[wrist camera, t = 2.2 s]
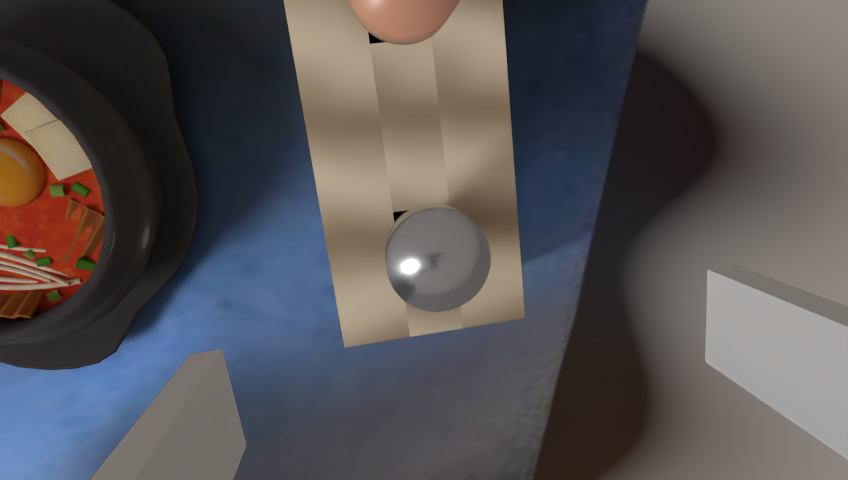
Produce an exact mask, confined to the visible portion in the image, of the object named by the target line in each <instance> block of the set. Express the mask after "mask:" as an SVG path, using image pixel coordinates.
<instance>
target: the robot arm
mask: <svg viewBox="0 0 848 480" xmlns="http://www.w3.org/2000/svg"><path fill="white" fill-rule="evenodd" d="M707 272H708V273H707V310H706V350H705V362H706V363H708V364H709V365H710V366H712V367H713V368H715V369H716V370H718V371H719V372H721V373H722V374H724V375H725V376H727V377H728V378H730V379H731V380H732V381H734V382H735V383H737V384H738V385H740V386H741V387H743V388H744V389H745V390H747V391H748V392H750V393H751V394H753V395H754V396H756V397H757V398H759V399H760V400H761V401H763V402H764V403H766V404H767V405H769V406H770V407H772V408H773V409H775V410H776V411H778V412H779V413H780V414H782V415H783V416H785V417H786V418H788V419H789V420H791V421H792V422H793V423H795V424H796V425H798V426H799V427H801V428H802V429H804V430H805V431H807V432H808V433H810V434H811V435H812V436H814V437H815V438H817V439H818V440H820V441H821V442H823V443H824V444H826V445H827V446H828V447H830V448H831V449H833V450H834V451H836V452H837V453H839V454H840V455H842V456H843V457H844V458H846V459H847V460H848V307H847V306H844V305H841V304H839V303H836V302H833V301H830V300H828V299H825V298H822V297H819V296H817V295H814V294H811V293H809V292H806V291H803V290H801V289H798V288H795V287H792V286H790V285H787V284H784V283H781V282H779V281H776V280H773V279H770V278H768V277H765V276H763V275H760V274H757V273H754V272H752V271H749V270H746V269H743V268H741V267H738V266H735V265H732V266H725V267H719V268H714V269H708V271H707ZM245 448H246V441H245V437H244V433H243V429H242V425H241V421H240V418H239V414H238V410H237V406H236V402H235V398H234V394H233V390H232V386H231V382H230V378H229V374H228V370H227V366H226V362H225V358H224V355H223V351H222V349H220V350H214V351H208V352H202V353H196V354H190V355H189V356H188V358H187V359H186V360H185V361H184V363H183V364H182V365H181V366H180V368H179V369H178V370H177V371H176V373H175V374H174V375H173V376H172V378H171V379H170V380H169V381H168V383H167V384H166V385H165V386H164V388H163V389H162V390H161V391H160V393H159V394H158V395H157V396H156V398H155V399H154V400H153V401H152V403H151V404H150V405H149V406H148V408H147V409H146V410H145V411H144V413H143V414H142V415H141V416H140V418H139V419H138V420H137V421H136V423H135V424H134V425H133V426H132V428H131V429H130V430H129V432H128V433H127V434H126V435H125V437H124V438H123V439H122V440H121V442H120V443H119V444H118V445H117V447H116V448H115V449H114V450H113V452H112V453H111V454H110V455H109V457H108V458H107V459H106V460H105V462H104V463H103V464H102V465H101V467H100V468H99V469H98V470H97V472H96V473H95V474H94V475H93V477H92V478H91V479H90V480H233V479H234V476H235V474H236V471H237V469H238V466H239V463H240V461H241V458H242V456H243V453H244V451H245Z"/></svg>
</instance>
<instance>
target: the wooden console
mask: <svg viewBox="0 0 848 480" xmlns="http://www.w3.org/2000/svg"><path fill="white" fill-rule="evenodd" d="M284 5H285V11H286V17H287V22H288V28H289V34H290V40H291V45H292V51H293V57H294V62H295V68H296V74H297V80H298V85H299V91H300V97H301V102H302V108H303V114H304V120H305V125H306V131H307V137H308V142H309V148H310V154H311V159H312V165H313V171H314V177H315V182H316V188H317V194H318V199H319V205H320V211H321V217H322V222H323V228H324V234H325V239H326V245H327V251H328V256H329V262H330V268H331V274H332V279H333V285H334V291H335V296H336V302H337V308H338V314H339V319H340V325H341V331H342V336H343V342H344V348H346V347H352V346H358V345H364V344H370V343H376V342H382V341H388V340H395V339H401V338H407V337H413V336H419V335H425V334H431V333H437V332H444V331H450V330H456V329H462V328H468V327H474V326H480V325H487V324H493V323H499V322H505V321H511V320H517V319H523V318H525V309H524V295H523V281H522V267H521V253H520V239H519V225H518V211H517V197H516V183H515V169H514V155H513V141H512V127H511V113H510V99H509V85H508V71H507V57H506V43H505V29H504V15H503V1H502V0H459V2H458V4H457V6H456V8H455V9H454V11H453V13H452V14H451V15H450V17H449V18H448V20H447V21H446V22H445V24H444V25H443V26H442V27H441V29H440V30H439V31H437V32H436V33H435V34H434V35H433V36H431V37H430V38H428V39H426V40H424V41H422V42H419V43H416V44H410V45H397V44H391V43H387V42H383V43H374V44H370V42H369V35H368V31H367V30H366V29H365V28H364V27H363V26H362V25H361V24H360V22H359V21H358V20H357V18H356V17H355V15H354V13H353V11H352V9H351V7H350V4H349V1H348V0H284ZM429 203H440V204H445V205H449V206H452V207H454V208H456V209H458V210H460V211H461V212H463V213H464V214H465V215H466V216H467V217H469V218H470V219H471V220H472V221H473V222H474V223H476V224H477V225H478V226H479V228H480V229H481V230H482V232H483V233H484V235H485V237H486V239H487V241H488V244H489V247H490V253H491V264H490V270H489V274H488V277H487V279H486V281H485V283H484V285H483V287H482V288H481V290H480V291H479V292H478V293H477V294H476V295H475V297H473V298H472V299H471V300H470V301H468V302H467V303H465V304H464V305H462V306H460V307H458V308H455V309H452V310H449V311H443V312H430V311H424V310H421V309H418V308H415V307H413V306H411V305H410V304H408V303H406V302H405V301H404V300H403V299H402V298H401V297H400V296H399V295H398V294H397V293H396V292H395V290H394V289H393V287H392V285H391V283H390V281H389V278H388V274H387V269H386V262H385V253H384V252H385V243H386V238H387V236H388V233H389V231H390V229H391V227H392V226H393V224H394V217H393V212H398V211H405V210H410V209H412V208H414V207H416V206H419V205H423V204H429Z"/></svg>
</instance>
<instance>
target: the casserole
mask: <svg viewBox="0 0 848 480" xmlns="http://www.w3.org/2000/svg"><path fill="white" fill-rule="evenodd" d="M198 200H199V199H198V191H197V183H196V175H195V170H194V167H193V164H192V161H191V158H190V155H189V152H188V149H187V146H186V143H185V141H184V138H183V135H182V132H181V129H180V126H179V123H178V120H177V118H176V114H175V106H174V99H173V91H172V84H171V78H170V73H169V67H168V62H167V57H166V55H165V53H164V51H163V50H162V48H161V46H160V45H159V43H158V41H157V39H156V38H155V36H154V34H153V33H152V32H151V31H150V30H149V29H148V28H147V27H146V26H145V25H143V24H142V23H141V22H140V21H139V20H138V19H137V18H136V17H135V16H134V15H133V14H131V13H130V12H129V11H127V10H125V9H124V8H122V7H120V6H119V5H117V4H116V3H114V2H112V1H111V0H0V362H2V363H6V364H9V365H13V366H17V367H23V368H34V369H44V370H58V369H75V368H80V367H84V366H88V365H92V364H96V363H99V362H101V361H102V360H104V359H105V358H107V357H109V356H110V355H112V354H113V353H115V352H116V351H117V349H118V348H119V346H120V344H121V343H122V341H123V340H124V338H125V336H126V335H127V333H128V331H129V330H130V328H131V326H132V325H133V323H134V322H135V320H136V318H137V317H138V315H139V313H140V312H141V311H142V309H143V308H144V307H145V306H146V305H147V304H148V303H149V302H150V301H151V300H152V299H153V298H154V297H155V296H156V295H157V294H158V292H159V291H160V290H161V289H162V288H163V287H164V286H165V285H166V284H167V283H168V282H169V281H170V280H171V278H172V277H173V276H174V275H175V274H176V273H177V271H178V269H179V267H180V266H181V264H182V262H183V260H184V259H185V257H186V255H187V253H188V252H189V248H190V245H191V242H192V239H193V236H194V232H195V229H196V224H197V212H198Z"/></svg>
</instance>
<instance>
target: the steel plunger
mask: <svg viewBox="0 0 848 480" xmlns="http://www.w3.org/2000/svg"><path fill="white" fill-rule="evenodd" d="M384 253H385V262H386V269H387V274H388V278H389V281H390V283H391V285H392V287H393V289H394V290H395V292H396V293H397V294H398V295H399V296H400V297H401V298H402V299H403V300H404V301H405V302H406V303H408V304H410V305H411V306H413V307H415V308H418V309H421V310H424V311H430V312H443V311H449V310H452V309H455V308H458V307H460V306H462V305H464V304H465V303H467V302H468V301H470V300H471V299H472V298H473V297H475V295H476V294H477V293H478V292H479V291H480V290H481V288H482V287H483V285H484V283H485V281H486V279H487V277H488V274H489V270H490V264H491V253H490V247H489V244H488V241H487V239H486V237H485V235H484V233H483V232H482V230H481V229H480V228H479V226H478V225H477V224H476V223H474V222H473V221H472V220H471V219H470V218H469V217H467V216H466V215H465V214H464V213H463V212H461V211H460V210H458V209H456V208H454V207H452V206H449V205H445V204H440V203H429V204H423V205H419V206H416V207H414V208H412V209H410V210H405V211H403V212H402V213H401V215H400V217H399V218H398V219H397V220H396V222H395V223H394V224H393V226H392V227H391V229H390V231H389V233H388V236H387V238H386V243H385V252H384Z"/></svg>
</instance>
